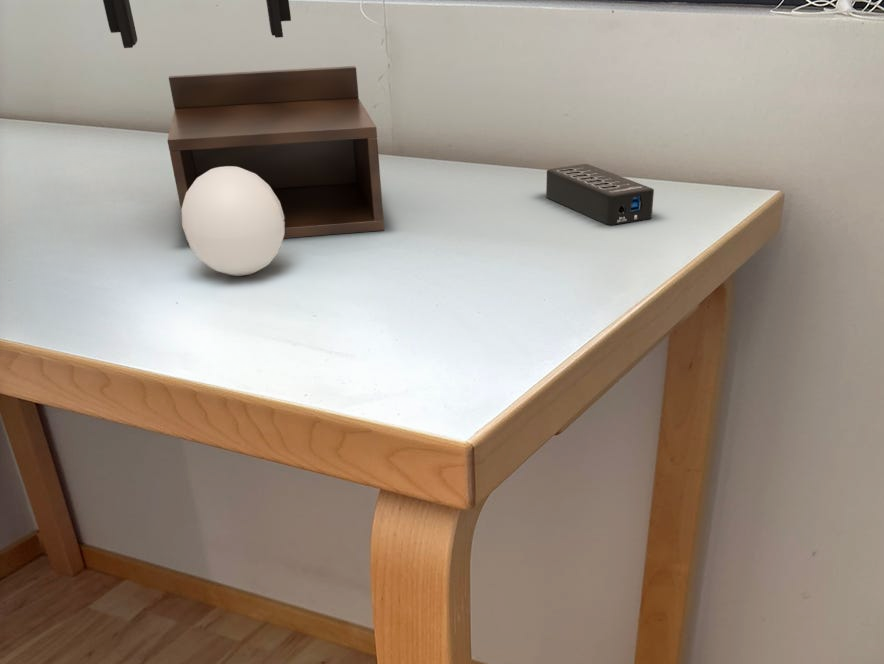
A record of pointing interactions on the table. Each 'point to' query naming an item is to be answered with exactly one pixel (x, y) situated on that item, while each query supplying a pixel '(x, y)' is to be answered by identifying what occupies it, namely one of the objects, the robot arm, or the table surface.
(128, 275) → the table surface
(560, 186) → the multiport hub
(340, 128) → the shelf
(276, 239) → the cream oval egg shape
